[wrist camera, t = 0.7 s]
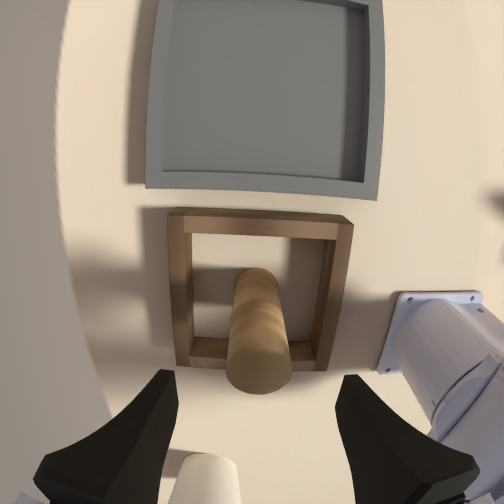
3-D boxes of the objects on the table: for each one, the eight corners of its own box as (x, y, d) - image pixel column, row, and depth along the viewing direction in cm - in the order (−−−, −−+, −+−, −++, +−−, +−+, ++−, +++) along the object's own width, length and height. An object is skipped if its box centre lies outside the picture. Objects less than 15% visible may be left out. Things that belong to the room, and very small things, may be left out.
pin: (279, 268, 22) (296, 346, 13) (275, 307, 23) (288, 394, 14) (235, 266, 21) (226, 344, 13) (234, 305, 22) (225, 393, 14)
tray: (371, 7, 15) (381, -3, 13) (365, 195, 20) (376, 200, 18) (169, -7, 15) (162, -19, 13) (154, 184, 20) (145, 188, 18)
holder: (342, 215, 20) (354, 224, 18) (320, 351, 24) (326, 370, 22) (176, 206, 20) (167, 215, 18) (182, 346, 24) (176, 365, 21)
